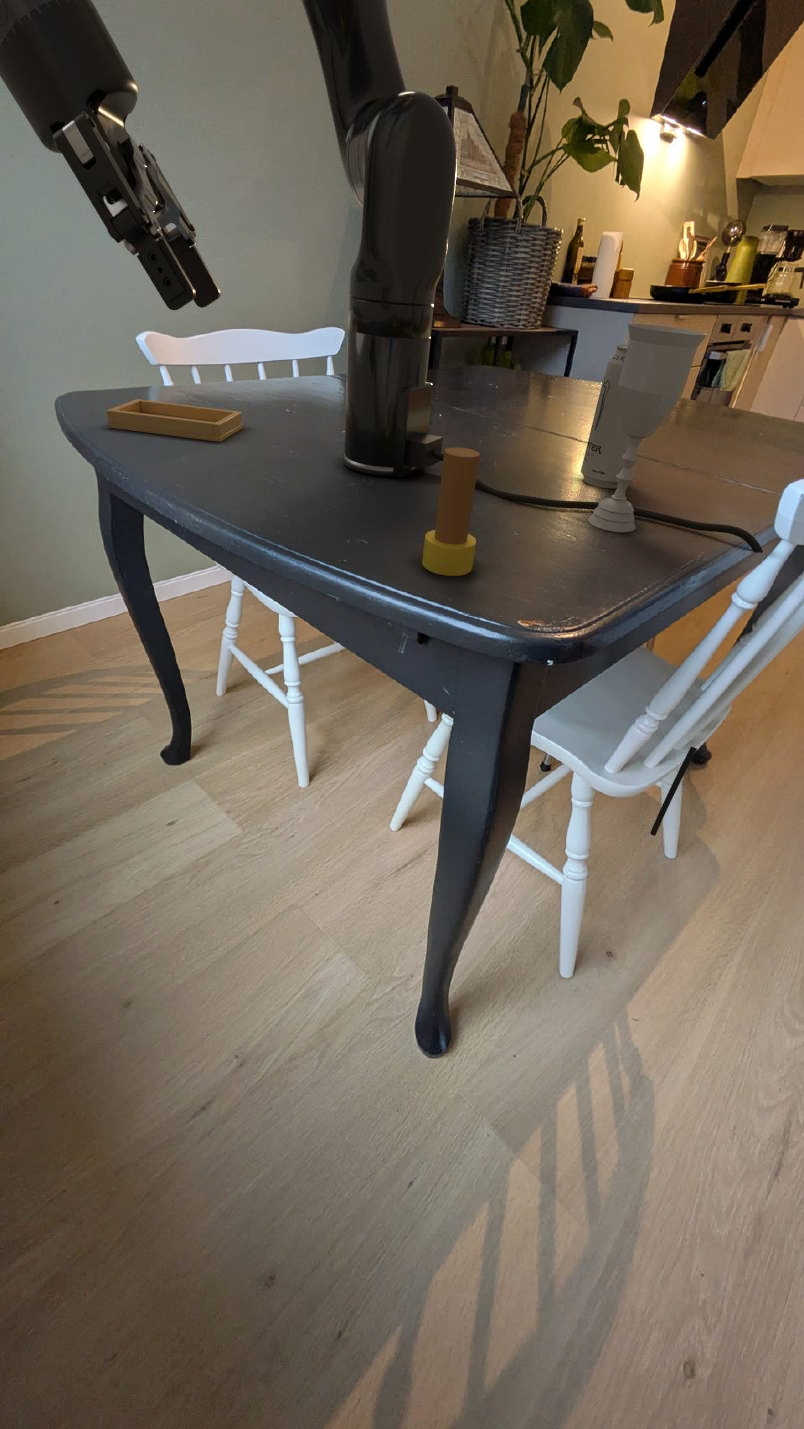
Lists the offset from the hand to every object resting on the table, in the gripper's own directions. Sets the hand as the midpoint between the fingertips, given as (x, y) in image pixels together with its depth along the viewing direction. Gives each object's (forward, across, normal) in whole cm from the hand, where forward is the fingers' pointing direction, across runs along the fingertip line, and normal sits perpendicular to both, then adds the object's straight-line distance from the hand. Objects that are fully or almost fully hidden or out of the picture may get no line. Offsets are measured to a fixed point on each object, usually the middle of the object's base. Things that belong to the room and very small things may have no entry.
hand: (199, 303), depth 49 cm
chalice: (+35, +8, -25) cm, 44 cm away
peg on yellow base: (+26, -6, -9) cm, 28 cm away
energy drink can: (+37, +24, -29) cm, 52 cm away
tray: (+7, +34, +19) cm, 40 cm away
